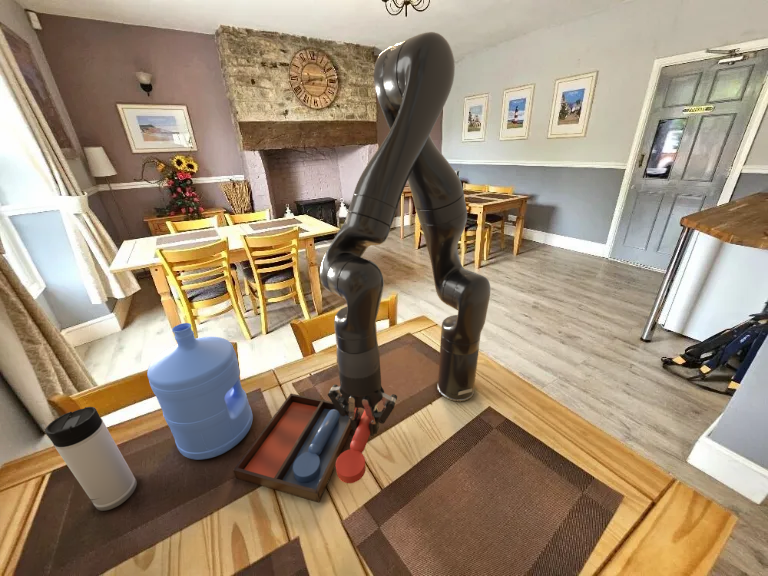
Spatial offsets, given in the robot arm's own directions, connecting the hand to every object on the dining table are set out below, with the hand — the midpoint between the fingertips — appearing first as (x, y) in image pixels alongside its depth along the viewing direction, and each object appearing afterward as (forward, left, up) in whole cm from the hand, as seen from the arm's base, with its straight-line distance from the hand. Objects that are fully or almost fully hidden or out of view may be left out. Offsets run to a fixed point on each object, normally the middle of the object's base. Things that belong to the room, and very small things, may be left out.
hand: (365, 430), depth 62 cm
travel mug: (+20, -43, -7) cm, 48 cm away
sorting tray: (+1, -14, -7) cm, 16 cm away
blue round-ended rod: (+2, -10, -6) cm, 12 cm away
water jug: (+3, -35, -7) cm, 36 cm away
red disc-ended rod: (+3, 0, 0) cm, 3 cm away
